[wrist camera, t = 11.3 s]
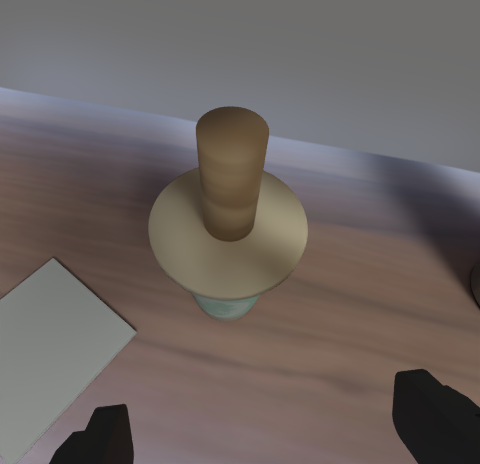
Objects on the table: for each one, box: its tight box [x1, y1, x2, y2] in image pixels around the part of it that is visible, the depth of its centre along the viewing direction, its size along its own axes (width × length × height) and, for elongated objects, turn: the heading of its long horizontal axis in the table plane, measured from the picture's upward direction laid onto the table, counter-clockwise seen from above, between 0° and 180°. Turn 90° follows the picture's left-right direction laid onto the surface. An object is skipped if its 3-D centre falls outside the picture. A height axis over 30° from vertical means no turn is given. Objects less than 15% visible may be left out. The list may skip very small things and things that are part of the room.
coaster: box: [0, 258, 137, 464], centre depth 26 cm, size 12×12×1 cm
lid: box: [148, 107, 308, 301], centre depth 16 cm, size 10×10×8 cm
